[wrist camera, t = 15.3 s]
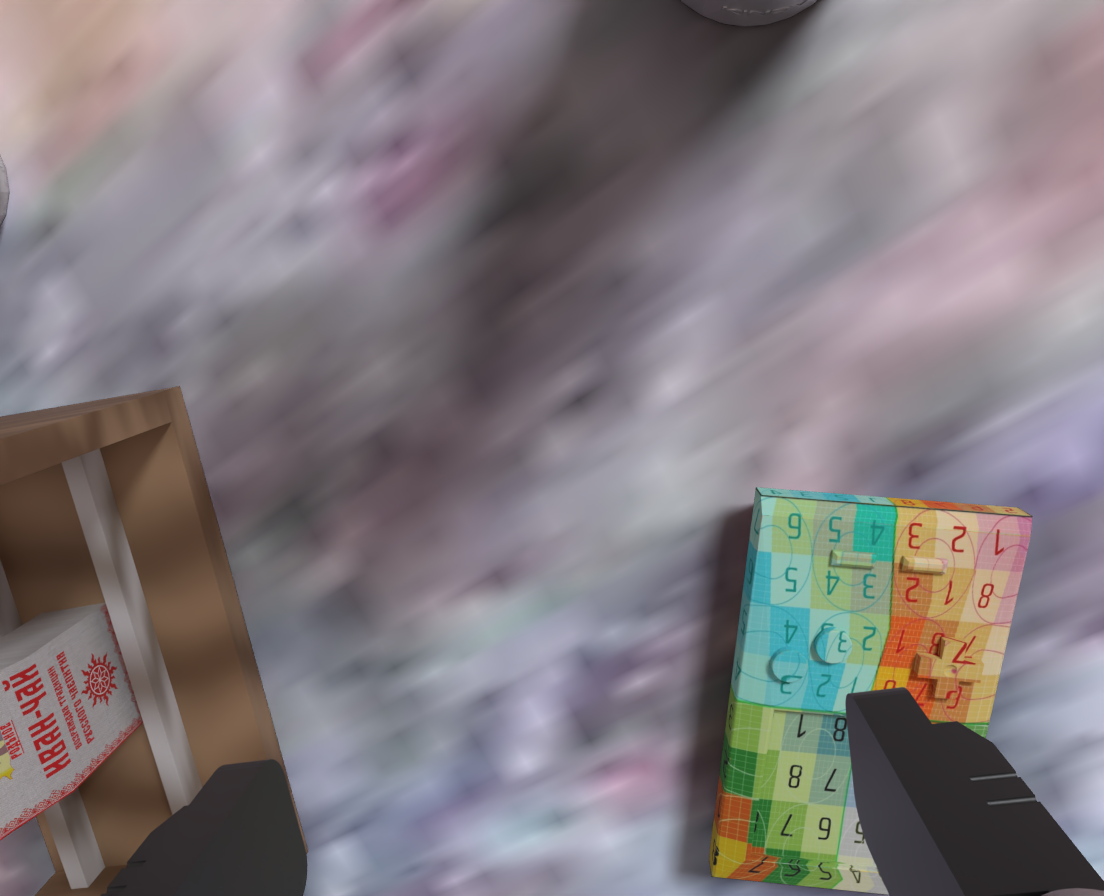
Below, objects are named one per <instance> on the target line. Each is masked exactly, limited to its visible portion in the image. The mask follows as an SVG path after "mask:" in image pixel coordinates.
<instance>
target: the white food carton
mask: <svg viewBox="0 0 1104 896" xmlns="http://www.w3.org/2000/svg"><path fill="white" fill-rule="evenodd" d="M142 723H143V720H142V717H141V713H140V710H139V707H138V704H137V701H136V698H135V694H134V691H133V688H132V685H131V682H130V679H129V675H128V672H127V669H126V666H125V663H124V659H123V656H122V653H121V650H120V647H119V644H118V640H117V637H116V634H115V631H114V628H113V625H112V621H111V618H110V615H109V612H108V609H107V606H106V603H100V604H94V605H88V606H82V607H76V608H70V609H64V610H57V611H51V612H45V613H41V614H39V615H37V616H36V617H34V618H33V619H31V620H29V621H28V622H26V623H25V624H23V625H21V626H20V627H18V628H17V629H15V630H13V631H12V632H10V633H9V634H7V635H5V636H4V637H2V638H1V639H0V840H2V839H3V838H4V837H6V836H7V835H9V834H10V833H11V832H13V831H14V830H16V829H17V828H19V827H20V826H22V825H23V824H25V823H26V822H28V821H29V820H31V819H32V818H34V817H36V816H37V815H39V814H40V813H42V812H43V811H45V810H46V809H48V808H49V807H51V806H52V805H54V804H55V803H57V802H58V801H60V800H62V799H63V798H65V797H66V796H68V795H69V794H71V793H72V792H74V791H75V790H76V789H77V788H78V787H79V786H80V785H81V784H82V783H83V782H84V781H85V780H86V779H87V778H88V777H89V776H90V775H91V774H92V773H93V772H94V771H95V770H96V769H97V768H98V767H99V766H100V765H101V764H102V763H103V762H104V761H105V760H106V759H107V758H108V757H109V756H110V755H111V754H112V753H113V752H114V751H115V750H116V749H117V748H118V747H119V746H120V745H121V744H122V743H123V742H124V741H125V740H126V739H127V738H128V737H129V736H130V735H131V734H132V733H133V732H134V731H135V730H136V729H137V728H138V727H139V726H140V725H141V724H142Z"/></svg>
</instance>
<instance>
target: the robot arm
mask: <svg viewBox="0 0 1104 896" xmlns="http://www.w3.org/2000/svg"><path fill="white" fill-rule="evenodd" d="M681 1H682V2H683V3H684V4H686V5H687V6H689V7H690V8H692V9H693V10H695V11H696V12H697V13H699V14H700V15H702V16H705V17H707V18H710V19H713V20H715V21H718V22H720V23H724V24H731V25H738V26H756V25H767V24H771V23H774V22H777V21H780V20H783V19H787V18H790V17H792V16H794V15H795V14H797V13H799V12H801V11H802V10H804V9H806V8H808V7H809V6H811V5H813V4H814V3H815V2H816V1H817V0H681ZM845 706H846V718H847V728H848V738H849V748H850V757H851V767H852V777H853V787H854V796H855V802H856V808H857V813H858V817H859V821H860V825H861V828H862V832H863V835H864V838H865V841H866V844H867V846H868V848H869V851H870V853H871V855H872V858H873V860H874V862H875V864H876V866H877V869H878V871H879V873H880V875H881V878H882V880H883V882H884V884H885V887H886V889H887V891H888V893H889V896H1104V881H1103V880H1102V879H1101V877H1100V876H1099V875H1098V874H1097V872H1096V871H1095V870H1094V869H1093V867H1092V866H1091V865H1090V864H1089V862H1088V861H1087V860H1086V859H1085V857H1084V856H1083V855H1082V854H1081V852H1080V851H1079V850H1078V849H1077V847H1076V846H1075V845H1074V844H1073V842H1072V841H1071V840H1070V839H1069V837H1068V836H1067V835H1066V834H1065V832H1064V831H1063V830H1062V829H1061V827H1060V826H1059V825H1058V824H1057V822H1056V821H1055V820H1054V819H1053V817H1052V816H1051V815H1050V814H1049V812H1048V811H1047V810H1046V809H1045V807H1044V806H1043V805H1042V804H1041V802H1037V801H1036V798H1035V795H1034V794H1033V792H1032V791H1031V790H1030V789H1029V787H1028V786H1027V785H1026V784H1025V782H1024V781H1023V780H1022V779H1021V777H1017V775H1016V771H1015V770H1014V769H1013V767H1012V766H1011V765H1010V764H1009V763H1008V761H1007V760H1006V759H1005V758H1004V756H1003V755H1002V754H1001V753H1000V751H999V750H998V749H997V748H996V746H995V745H994V744H993V743H992V742H990V741H989V740H987V739H985V738H984V737H982V736H980V735H979V734H977V733H976V732H974V731H972V730H971V729H969V728H967V727H966V726H964V725H963V724H961V723H959V722H958V721H954V722H945V723H936V724H932V723H931V722H930V720H929V719H928V718H927V716H926V715H925V713H924V712H923V711H922V709H921V708H920V706H919V705H918V703H917V702H916V701H915V699H914V698H913V696H912V695H911V693H910V692H909V691H908V690H907V689H906V688H905V687H899V688H891V689H882V690H874V691H865V692H856V693H848V694H847V695H846V702H845ZM306 879H307V856H306V850H305V846H304V842H303V839H302V835H301V831H300V828H299V824H298V820H297V817H296V813H295V810H294V806H293V802H292V799H291V795H290V792H289V788H288V784H287V781H286V777H285V774H284V771H283V769H282V767H281V765H280V764H279V763H278V762H277V761H276V760H274V759H269V760H260V761H252V762H243V763H235V764H226V765H222V766H220V767H219V768H217V770H216V771H215V772H214V773H213V774H212V776H211V777H210V778H209V780H208V781H207V782H206V783H205V785H204V786H203V787H202V789H201V790H200V791H199V793H198V794H197V795H196V796H195V798H194V799H193V800H192V802H191V803H190V804H189V805H186V806H183V807H182V808H181V809H180V810H178V811H177V812H176V813H175V814H173V815H172V816H171V817H170V818H168V819H167V820H166V821H165V822H163V823H162V824H161V825H159V826H158V827H157V828H156V829H154V830H153V831H152V832H151V833H150V834H149V835H148V836H147V838H146V839H145V840H144V841H143V843H142V844H141V845H140V846H139V848H138V849H137V850H136V851H135V853H134V854H133V855H132V856H131V858H130V859H129V860H128V861H127V867H126V868H122V869H121V870H120V871H119V873H118V874H117V875H116V877H115V878H114V879H113V880H112V882H111V883H110V884H109V885H108V887H107V892H106V893H105V894H101V895H100V896H303V893H304V890H305V885H306Z"/></svg>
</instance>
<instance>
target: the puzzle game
mask: <svg viewBox="0 0 1104 896" xmlns="http://www.w3.org/2000/svg"><path fill="white" fill-rule="evenodd" d="M1031 525H1032V516H1031V515H1030V514H1028V513H1026V512H1025V511H1023V510H1021V509H1020V508H1016V507H1003V506H990V505H977V504H964V503H951V502H938V501H926V500H913V499H900V498H887V497H874V496H861V495H848V494H836V493H823V492H810V491H797V490H784V489H771V488H758V487H756V491H755V499H754V506H753V514H752V522H751V530H750V538H749V546H748V554H747V562H746V569H745V577H744V585H743V593H742V601H741V609H740V617H739V625H738V632H737V640H736V648H735V656H734V664H733V672H732V680H731V687H730V695H729V703H728V711H727V719H726V727H725V735H724V743H723V750H722V758H721V766H720V774H719V782H718V790H717V798H716V806H715V813H714V821H713V829H712V837H711V845H710V856H709V864H710V870H711V875H712V877H719V878H729V879H739V880H748V881H758V882H768V883H778V884H788V885H797V886H807V887H817V888H827V889H837V890H846V891H856V892H866V893H876V894H886V895H889V893H888V891H887V889H886V887H885V884H884V882H883V880H882V878H881V875H880V873H879V871H878V869H877V866H876V864H875V862H874V860H873V858H872V855H871V853H870V851H869V848H868V846H867V844H866V841H865V838H864V835H863V832H862V828H861V825H860V821H859V817H858V813H857V808H856V802H855V796H854V787H853V777H852V767H851V757H850V748H849V738H848V728H847V718H846V706H845V702H846V695H847V694H848V693H856V692H865V691H874V690H882V689H891V688H899V687H905V688H906V689H907V690H908V691H909V692H910V693H911V695H912V696H913V698H914V699H915V701H916V702H917V703H918V705H919V706H920V708H921V709H922V711H923V712H924V713H925V715H926V716H927V718H928V719H929V720H930V722H931V723H932V724H936V723H945V722H954V721H958V722H959V723H961V724H963V725H964V726H966V727H967V728H969V729H971V730H972V731H974V732H976V733H977V734H979V735H980V736H982V737H984V738H986V734H987V729H988V725H989V720H990V716H991V711H992V707H993V702H994V698H995V693H996V689H997V684H998V680H999V675H1000V671H1001V666H1002V662H1003V657H1004V653H1005V648H1006V644H1007V639H1008V635H1009V630H1010V626H1011V622H1012V617H1013V613H1014V608H1015V604H1016V599H1017V595H1018V590H1019V586H1020V581H1021V577H1022V572H1023V568H1024V563H1025V559H1026V554H1027V550H1028V545H1029V541H1030V536H1031Z"/></svg>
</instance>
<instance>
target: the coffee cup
mask: <svg viewBox="0 0 1104 896" xmlns="http://www.w3.org/2000/svg"><path fill="white" fill-rule="evenodd" d="M8 198H9V186H8V179H7V172H6V167H5V165H4V163H3V160H2V158H1V156H0V225H1V223H2V221H3V220H4V218H5V216H6V211H7V204H8Z"/></svg>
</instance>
